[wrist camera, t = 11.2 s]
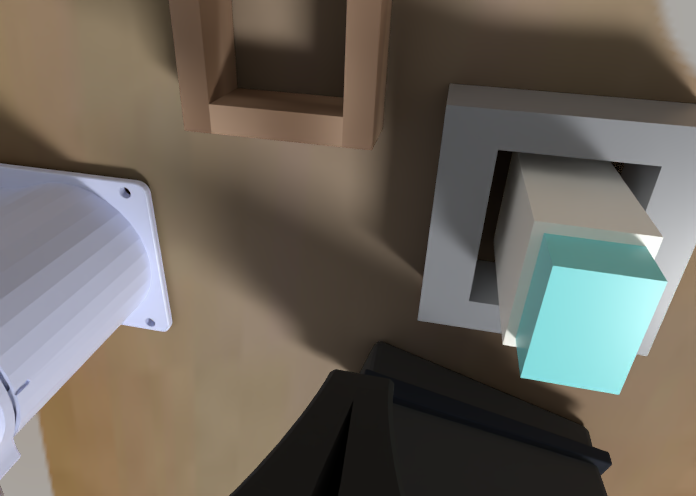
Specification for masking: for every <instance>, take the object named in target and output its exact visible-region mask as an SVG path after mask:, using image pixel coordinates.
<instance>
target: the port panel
mask: <svg viewBox="0 0 696 496" xmlns="http://www.w3.org/2000/svg"><path fill="white" fill-rule="evenodd" d="M498 150H504V151H514V152H524V153H534V154H543V155H553V156H563V157H573V158H583V159H593V160H603V161H613V162H622V163H624V166H623V169H622V172H621V177H622V179H623V180H624V182H625V183H626V185H627V186H628V187H629V189H630V190H631V192H632V193H633V195H634V196H635V197H636V199H637V200H638V202H639V203H640V205H641V206H642V207H643V209H644V210H645V212H646V213H647V215H648V216H649V217H650V219H651V220H652V222H653V223H654V225H655V226H656V227H657V229H658V230H659V232H660V233H661V235H662V236H663V240H662V242H661V245H660V247H659V250H658V252H657V255H656V257H655V262H656V264H657V265H658V267H659V268H660V270H661V272H662V273H663V275H664V276H665V278H666V280H667V281H668V282H667V285H666V287H665V289H664V292H663V294H662V296H661V299H660V301H659V303H658V305H657V308H656V310H655V312H654V315H653V317H652V319H651V322H650V324H649V326H648V329H647V331H646V333H645V336H644V338H643V340H642V343H641V345H640V347H639V350H638V352H637V354H636V355H643V356H647V355H648V353H649V351H650V348H651V346H652V344H653V342H654V339H655V337H656V335H657V332H658V330H659V328H660V325H661V323H662V321H663V319H664V316H665V314H666V312H667V309H668V307H669V305H670V302H671V300H672V298H673V296H674V293H675V291H676V289H677V286H678V284H679V282H680V279H681V277H682V275H683V273H684V270H685V268H686V266H687V263H688V261H689V259H690V256H691V254H692V252H693V250H694V247H695V245H696V104H692V103H680V102H667V101H655V100H643V99H631V98H619V97H607V96H595V95H583V94H571V93H559V92H546V91H534V90H522V89H510V88H498V87H486V86H474V85H462V84H450V85H449V92H448V98H447V104H446V112H445V119H444V127H443V134H442V142H441V149H440V157H439V164H438V172H437V179H436V187H435V194H434V202H433V209H432V216H431V224H430V231H429V239H428V246H427V254H426V261H425V269H424V276H423V284H422V291H421V299H420V306H419V314H418V321H424V322H431V323H437V324H444V325H450V326H456V327H463V328H469V329H476V330H482V331H489V332H495V333H501V334H502V332H501V321H500V309H499V298H498V287H497V275H496V264H495V262H488V261H481V260H477V256H478V251H479V246H480V241H481V236H482V230H483V225H484V220H485V215H486V210H487V204H488V199H489V194H490V189H491V184H492V178H493V173H494V168H495V163H496V158H497V152H498Z"/></svg>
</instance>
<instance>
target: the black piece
mask: <svg viewBox="0 0 696 496" xmlns="http://www.w3.org/2000/svg"><path fill="white" fill-rule="evenodd" d="M360 374H365V375H371V376H376V377H382V378H388V379H390V380H391V381H392V382H393V383H394V391H393V422H394V433H395V441H396V448H397V454H398V460H399V466H400V472H401V477H402V482H403V487H404V492H405V496H607V493H606V490H605V487H604V484H603V481H602V478H601V475H602V474H603V473H604V472H605V471H606V470H607V469H608V468H609V467H610V466H611V465H612V462H611V458H610V455H609V453H608V452H606V451H603V450H600V449H597V448H595V447H592V443H591V439H590V435H589V432H588V430H587V429H586V428H585V427H584V426H582V425H580V424H577V423H575V422H572V421H570V420H568V419H565V418H563V417H561V416H558V415H556V414H553V413H551V412H549V411H546V410H544V409H541V408H539V407H537V406H534V405H532V404H529V403H527V402H525V401H522V400H520V399H518V398H515V397H513V396H510V395H508V394H506V393H503V392H501V391H498V390H496V389H494V388H491V387H489V386H487V385H484V384H482V383H479V382H477V381H475V380H472V379H470V378H467V377H465V376H463V375H460V374H458V373H456V372H453V371H451V370H448V369H446V368H444V367H441V366H439V365H436V364H434V363H432V362H429V361H427V360H425V359H422V358H420V357H417V356H415V355H413V354H410V353H408V352H405V351H403V350H401V349H398V348H396V347H394V346H391V345H389V344H386V343H384V342H378V343H376V344H375V345H374V347H373V349H372V351H371V352H370V354H369V356H368V358H367V360H366V362H365V364H364V366H363V368H362V370H361V372H360Z"/></svg>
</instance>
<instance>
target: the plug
mask: <svg viewBox="0 0 696 496" xmlns="http://www.w3.org/2000/svg"><path fill="white" fill-rule="evenodd" d="M662 240H663V236H662V235H661V233H660V232H659V230H658V229H657V227H656V226H655V225H654V223H653V222H652V220H651V219H650V217H649V216H648V215H647V213H646V212H645V210H644V209H643V207H642V206H641V205H640V203H639V202H638V200H637V199H636V197H635V196H634V195H633V193H632V192H631V190H630V189H629V187H628V186H627V185H626V183H625V182H624V180H623V179H622V177H621V176H620V175H619V173H618V172H617V170H616V169H615V167H614V166H613V165H612V163H611V162H610V161H603V160H593V159H583V158H573V157H563V156H553V155H543V154H534V153H524V152H514V151H513V152H512V157H511V161H510V166H509V171H508V175H507V180H506V185H505V189H504V194H503V198H502V203H501V208H500V212H499V217H498V222H497V226H496V231H495V235H494V240H493V242H494V253H495V264H496V275H497V287H498V298H499V309H500V321H501V332H502V343H503V345H508V346H514V347H517V354H518V362H519V370H520V378H526V379H531V380H537V381H543V382H549V383H554V384H560V385H566V386H572V387H578V388H583V389H589V390H595V391H601V392H606V393H612V394H618V395H619V394H620V391H621V389H622V387H623V384H624V382H625V380H626V377H627V375H628V373H629V370H630V368H631V366H632V363H633V361H634V359H635V356H636V354H637V352H638V350H639V347H640V345H641V343H642V340H643V338H644V336H645V333H646V331H647V329H648V326H649V324H650V322H651V319H652V317H653V315H654V312H655V310H656V308H657V305H658V303H659V301H660V299H661V296H662V294H663V292H664V289H665V287H666V285H667V282H668V281H667V280H666V278H665V276H664V275H663V273H662V272H661V270H660V268H659V267H658V265H657V264H656V262H655V257H656V255H657V252H658V250H659V247H660V245H661V242H662Z"/></svg>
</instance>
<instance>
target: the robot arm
mask: <svg viewBox="0 0 696 496" xmlns="http://www.w3.org/2000/svg"><path fill="white" fill-rule="evenodd" d="M125 188H127V189H128V190H129V191H130V193H131V195H130V194H128V193H127V192H126V191H125ZM151 319H152V320H153V321H152V320H151ZM120 325H127V326H133V327H139V328H145V329H150V330H156V331H167V330H168V329H169V328H170V327H171V325H172V316H171V310H170V304H169V298H168V292H167V286H166V280H165V275H164V269H163V263H162V257H161V251H160V245H159V239H158V233H157V227H156V221H155V215H154V209H153V203H152V197H151V192H150V189H149V187H148V186H147V185H146V184H145V183H144V182H142V181H139V180H132V179H123V178H115V177H107V176H99V175H91V174H83V173H75V172H67V171H59V170H51V169H43V168H34V167H26V166H18V165H10V164H2V163H0V479H1V478H2V477H3V476H4V475H5V474H6V473H7V472H8V470H9V469H10V468H11V467H12V466H13V465H14V464H15V463H16V462H17V460H18V459H19V458H20V457H21V454H20V452H19V451H18V449H17V447H16V445H15V442H14V438H13V437H14V436H15V435H16V434H17V433H18V432H19V431H20V430H21V429H22V428H23V427H24V426H25V425H26V423H28V422H29V420H30V419H31V418H32V417H33V416H34V415H35V414H36V413H37V412H38V411H39V410H40V409H41V408H42V407H43V406H44V405H45V404H46V403H47V402H48V401H49V399H50V398H51V397H52V396H53V395H54V394H55V393H56V392H57V391H58V390H59V389H60V388H61V387H62V386H63V385H64V384H65V383H66V382H67V381H68V379H69V378H70V377H71V376H72V375H73V374H74V373H75V372H76V371H77V370H78V369H79V368H80V367H81V366H82V365H83V364H84V363H85V362H86V361H87V359H88V358H89V357H90V356H91V355H92V354H93V353H94V352H95V351H96V350H97V349H98V348H99V347H100V346H101V345H102V344H103V343H104V342H105V341H106V340H107V338H108V337H109V336H110V335H111V334H112V333H113V332H114V331H115V330H116V329H117V328H118V327H119V326H120ZM393 391H394V383H393V382H392V381H391V380H390V379H388V378H382V377H376V376H371V375H365V374H359V373H354V372H348V371H342V370H337V369H335V370H333V371H332V372H330V373H329V375H328V377H327V379H326V380H325V382H324V383H323V385H322V386H321V388H320V390H319V391H318V392H317V394H316V395H315V397H314V398H313V400H312V401H311V402H310V404H309V405H308V407H307V408H306V409H305V411H304V412H303V413H302V415H301V416H300V417H299V418H298V420H297V421H296V422H295V423H294V425H293V426H292V427H291V428H290V430H289V431H288V432H287V433H286V435H285V436H284V437H283V438H282V440H281V441H280V442H279V443H278V444H277V445H276V447H275V448H274V449H273V450H272V451H271V452H270V453H269V454H268V455H267V457H266V458H265V459H264V460H263V461H262V462H261V463H260V464H259V465H258V467H257V468H256V469H255V470H254V471H253V472H252V473H251V474H250V475H249V476H248V477H247V478H246V479H245V480H244V481H243V482H242V483H241V485H240V486H239V487H238V488H237V489H236V490H235V491H234V492H233V493H231V494H230V495H229V496H405V492H404V487H403V482H402V477H401V472H400V466H399V460H398V454H397V448H396V441H395V433H394V422H393ZM0 496H4V494H3V491H2V489H1V486H0Z"/></svg>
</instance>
